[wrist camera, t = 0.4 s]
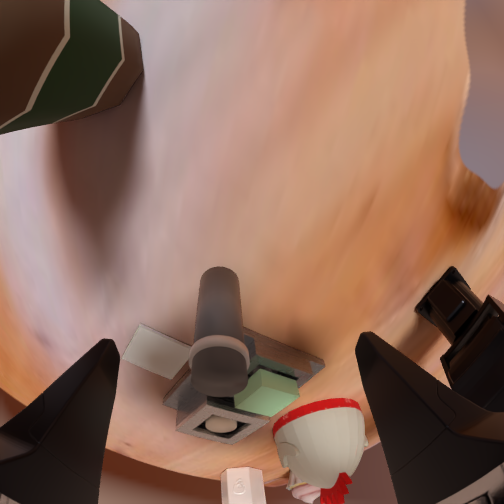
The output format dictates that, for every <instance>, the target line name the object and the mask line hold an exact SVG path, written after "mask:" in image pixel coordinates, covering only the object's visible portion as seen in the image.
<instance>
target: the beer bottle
mask: <svg viewBox="0 0 504 504" xmlns="http://www.w3.org/2000/svg"><path fill="white" fill-rule="evenodd" d="M142 71H143V63H142V56H141V48H140V39H139V33H138V32H137V31H136V30H135V29H134V28H133V27H132V26H131V25H130V24H129V23H128V22H126V21H125V20H124V19H123V18H121V17H120V16H119V15H118V14H116V13H115V12H114V11H113V10H111V9H110V8H109V7H108V6H106V5H105V4H104V3H102V2H101V1H100V0H0V135H1V134H5V133H9V132H13V131H17V130H22V129H26V128H31V127H36V126H41V125H47V124H52V123H58V122H65V121H72V120H76V119H80V118H85V117H87V116H90V115H92V114H95V113H98V112H101V111H103V110H106V109H109V108H112V107H115V106H118V105H120V104H121V102H122V101H123V99H124V97H125V96H126V94H127V93H128V91H129V90H130V88H131V87H132V85H133V84H134V82H135V81H136V79H137V78H138V76H139V75H140V74H141V72H142Z"/></svg>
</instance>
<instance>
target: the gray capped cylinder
mask: <svg viewBox="0 0 504 504" xmlns="http://www.w3.org/2000/svg"><path fill="white" fill-rule="evenodd" d="M249 365H250V360H249V352H248V349H247V347H246V346H245V343H244V333H243V322H242V311H241V300H240V288H239V280H238V277H237V275H236V274H235V273H234V272H233V271H232V270H230V269H228V268H225V267H213V268H210V269H209V270H207V271H206V272H205V273H204V274H203V275H202V277H201V280H200V288H199V297H198V306H197V315H196V325H195V335H194V344H193V345H192V347H191V349H190V353H189V366H190V368H191V384H192V386H193V387H194V388H195V389H196V390H197V391H199V392H200V393H202V394H205V395H208V396H213V397H227V396H232V395H235V394H238V393H240V392H241V391H243V390H244V389H245V388H246V386H247V384H248V374H247V370H248V368H249Z"/></svg>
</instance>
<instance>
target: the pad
mask: <svg viewBox="0 0 504 504" xmlns="http://www.w3.org/2000/svg"><path fill="white" fill-rule="evenodd" d="M190 349H191V346H189V345H187V344H184V343H182V342H180V341H177V340H175V339H173V338H171V337H169V336H166V335H164V334H162V333H160V332H158V331H156V330H154V329H151V328H149V327H147V326H145V325H143V324H141V323H140V325H139V327H138V328H137V330H136V332H135V334H134V336H133V338H132V339H131V341H130V343H129V345H128V347H127V349H126V351H125V352H124V354H123V356H122V359H123V360H126V361H128V362H130V363H132V364H134V365H137V366H139V367H141V368H143V369H146V370H148V371H150V372H153V373H155V374H158V375H160V376H163V377H165V378H168V379H170V380H172V378H173V377H174V376H175V375H176V374H177V372H178V371H179V370H180V369H181V368H182V366H183V365H184V364H185V363H186V362H187V361H188V359H189V353H190Z"/></svg>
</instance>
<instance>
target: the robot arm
mask: <svg viewBox="0 0 504 504" xmlns="http://www.w3.org/2000/svg"><path fill="white" fill-rule="evenodd" d="M416 310H417V311H418V312H419V313H420V314H421V315H422V316H424V317H425V318H426V319H427V320H429V321H430V322H431V323H432V324H434V325H435V326H436V327H438V328H439V329H440V331H441V332H442V333H443V335H444V336H445V337H446V339H447V340H448V341H449V343H450V344H451V345H452V346H451V347H450V348H449V349H448V350H447V352H446V353H445V354H444V355H442V356H441V357H440V360H441V363H442V366H443V369H444V371H445V374H446V376H447V379H448V381H449V384H450V387H451V389H452V390H451V389H450V388H449V387H447V386H446V385H444V384H443V383H442V382H440V381H439V380H437V379H436V378H435V377H433V376H432V375H431V374H429V373H428V372H427V371H425V370H424V369H422V368H421V367H420V366H418V365H417V364H416V363H414V362H413V361H412V360H410V359H409V358H407V357H406V356H405V355H403V354H402V353H401V352H399V351H398V350H396V349H395V348H394V347H392V346H391V345H390V344H388V343H387V342H386V341H384V340H383V339H381V338H380V337H379V336H377V335H376V334H375V333H373V332H371V331H369V332H362V333H361V334H360V336H359V339H358V342H357V345H356V348H355V354H356V358H357V362H358V367H359V371H360V375H361V380H362V384H363V388H364V391H365V394H366V397H367V400H368V403H369V406H370V409H371V412H372V415H373V418H374V421H375V424H376V427H377V431H378V434H379V437H380V440H381V443H382V447H383V450H384V453H385V457H386V460H387V464H388V467H389V471H390V475H391V479H392V482H393V486H394V490H395V494H396V497H397V501H398V504H504V304H503V303H502V302H500V301H499V300H497V299H495V298H494V297H492V296H490V295H489V294H488V296H487V297H486V300H485V301H484V303H483V302H482V301H481V300H480V299H479V298H478V297H477V296H476V295H475V294H474V293H473V292H472V291H471V288H470V287H469V285H468V284H467V283H466V281H465V280H464V278H463V277H462V276H461V274H460V273H459V272H458V270H457V269H456V268H455V267H454V266H452V267H450V268H449V270H448V271H447V272H446V273H445V275H444V276H443V277H442V278H441V280H440V281H439V282H438V283H437V284H436V285H435V287H434V288H433V289H432V290H431V291H430V292H429V294H428V295H427V296H426V297H425V298H424V299H423V300H422V301H421V302H420V304H419V305H418V306H417V308H416ZM498 315H499V316H498ZM119 364H120V355H119V352H118V350H117V347H116V345H115V342H114V341H113V340H112V339H105V338H104V339H101V340H100V341H99V342H98V343H97V344H96V345H95V346H93V347H92V348H91V349H90V350H89V351H88V352H87V353H85V354H84V355H83V356H82V357H81V358H80V359H79V360H78V361H77V362H75V363H74V364H73V365H72V366H71V367H70V368H69V369H68V370H67V371H65V372H64V373H63V374H62V375H61V376H60V377H59V378H58V379H57V380H56V381H55V382H53V383H52V384H51V385H50V386H49V387H48V388H47V389H46V390H45V391H44V392H43V393H41V394H40V395H39V396H38V397H37V398H36V399H35V400H34V401H33V402H32V403H30V404H29V405H28V406H27V407H26V408H25V409H23V410H22V411H21V412H20V413H18V414H17V415H16V416H15V417H13V418H12V419H11V420H9V421H8V422H7V423H6V424H4V425H3V426H2V427H0V504H98V496H99V487H100V478H101V471H102V464H103V458H104V452H105V446H106V440H107V435H108V429H109V424H110V419H111V414H112V409H113V405H114V400H115V395H116V388H117V379H118V371H119Z"/></svg>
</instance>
